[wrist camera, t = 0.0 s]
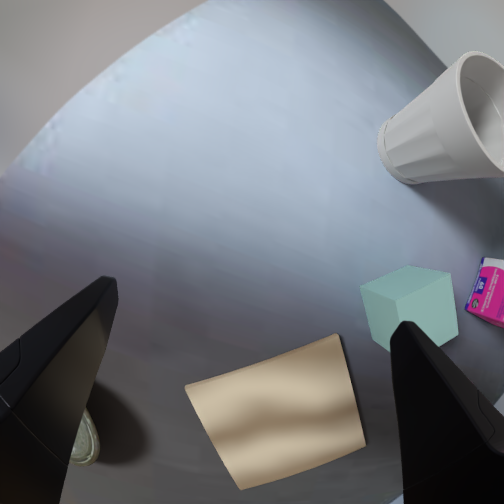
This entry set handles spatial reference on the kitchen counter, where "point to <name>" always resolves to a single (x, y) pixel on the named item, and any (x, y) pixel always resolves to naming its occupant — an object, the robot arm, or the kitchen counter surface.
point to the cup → (450, 126)
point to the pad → (281, 413)
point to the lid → (85, 442)
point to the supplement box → (488, 292)
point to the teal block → (411, 304)
